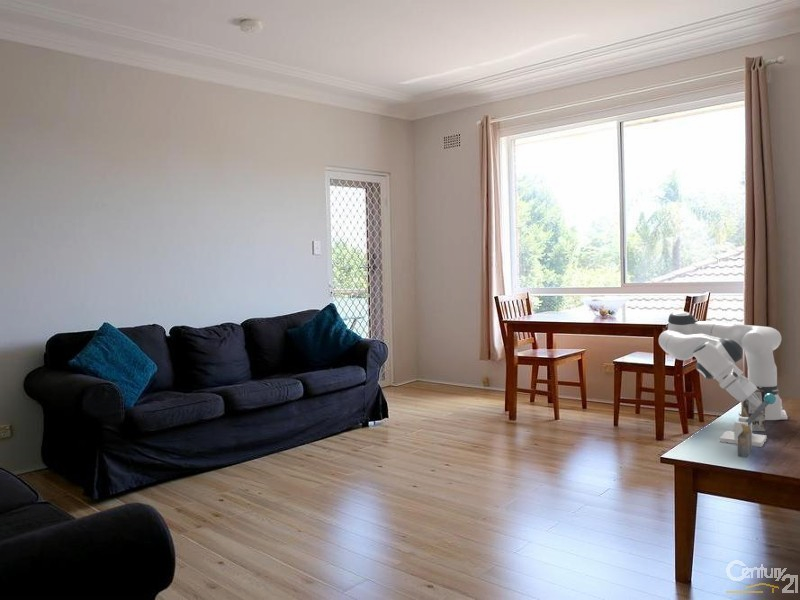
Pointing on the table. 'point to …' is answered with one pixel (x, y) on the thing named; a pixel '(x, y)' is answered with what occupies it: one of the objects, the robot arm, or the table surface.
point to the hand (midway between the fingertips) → (759, 405)
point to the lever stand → (733, 436)
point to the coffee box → (749, 409)
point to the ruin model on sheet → (744, 441)
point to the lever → (761, 407)
